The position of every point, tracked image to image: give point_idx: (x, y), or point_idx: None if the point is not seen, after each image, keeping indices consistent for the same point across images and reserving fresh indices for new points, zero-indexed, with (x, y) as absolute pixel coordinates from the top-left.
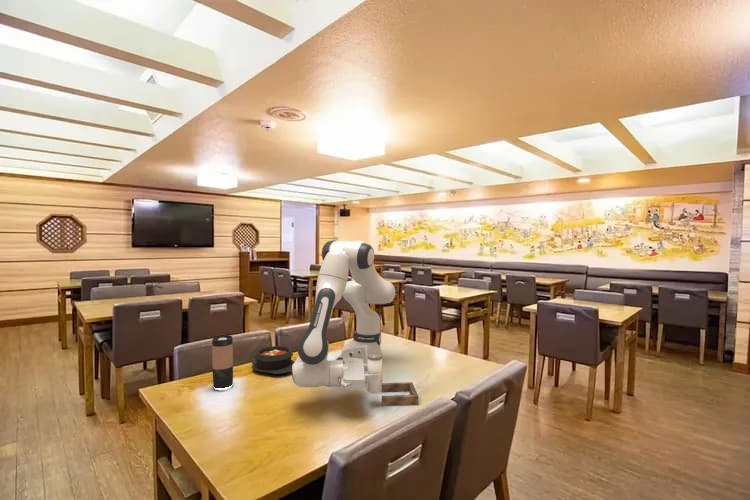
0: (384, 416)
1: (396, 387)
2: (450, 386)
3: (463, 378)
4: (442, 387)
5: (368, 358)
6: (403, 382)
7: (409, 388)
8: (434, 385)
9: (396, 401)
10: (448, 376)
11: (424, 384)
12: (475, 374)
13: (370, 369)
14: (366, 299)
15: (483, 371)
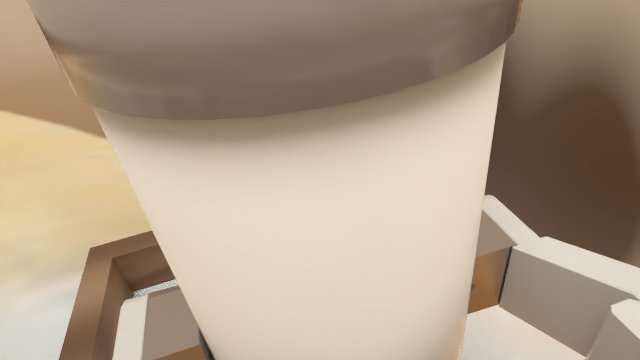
0: (532, 349)
1: (110, 343)
2: (112, 166)
3: (48, 149)
4: (115, 183)
5: (495, 34)
6: (79, 291)
7: (138, 270)
8: (84, 208)
9: None
10: (3, 184)
11: (56, 243)
12: (27, 132)
13: (474, 258)
14: None
15: (12, 122)
